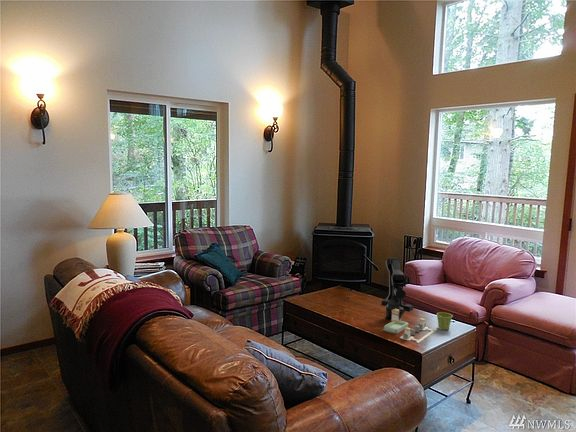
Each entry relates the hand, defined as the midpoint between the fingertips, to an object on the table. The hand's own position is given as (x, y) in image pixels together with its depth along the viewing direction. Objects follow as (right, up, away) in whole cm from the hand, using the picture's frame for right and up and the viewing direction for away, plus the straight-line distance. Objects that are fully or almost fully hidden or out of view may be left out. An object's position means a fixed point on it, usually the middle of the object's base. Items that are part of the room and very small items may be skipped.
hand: (396, 318), depth 252 cm
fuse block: (+11, -7, -8) cm, 16 cm away
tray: (0, -6, 0) cm, 6 cm away
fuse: (0, -1, 0) cm, 1 cm away
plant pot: (+30, -7, +2) cm, 31 cm away
